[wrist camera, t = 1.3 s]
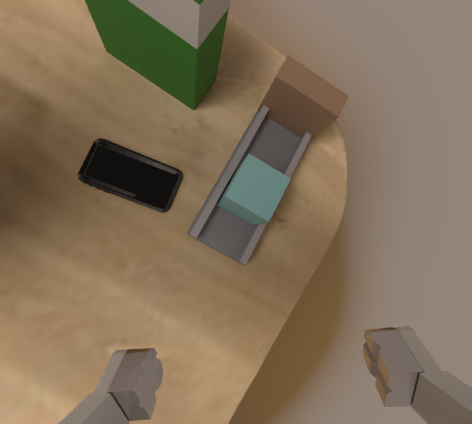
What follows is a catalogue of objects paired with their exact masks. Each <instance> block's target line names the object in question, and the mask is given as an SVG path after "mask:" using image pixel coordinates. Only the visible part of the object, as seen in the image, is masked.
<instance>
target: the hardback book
mask: <svg viewBox="0 0 472 424" xmlns="http://www.w3.org/2000/svg"><path fill="white" fill-rule="evenodd" d="M85 2H86V4H87V6H88V9H89V11H90V13H91V16H92V18H93V21H94V23H95V25H96V28H97V30H98V32H99V35H100V37H101V39H102V42H103V44H104V47H105V49H106V51H107V52H108V53H110V54H111V55H113V56H114V57H115V58H117V59H118V60H120V61H121V62H123V63H124V64H126V65H127V66H129V67H130V68H132V69H133V70H135V71H136V72H138V73H139V74H141V75H142V76H144V77H145V78H147V79H148V80H149V81H151V82H152V83H154V84H155V85H157V86H158V87H160V88H161V89H163V90H164V91H166V92H167V93H169V94H170V95H172V96H173V97H175V98H176V99H178V100H179V101H181V102H182V103H183V104H185V105H186V106H188V107H189V108H191V109H192V110H194V109H195V108H196V107H197V105H198V104H199V103H200V101H201V100H202V98H203V97H204V96H205V94H206V93H207V91H208V90H209V89H210V87H211V86H212V84H213V83H214V82H215V80H216V75H217V69H218V64H219V58H220V53H221V47H222V42H223V36H224V31H225V25H226V20H227V14H228V9H229V2H230V0H85Z"/></svg>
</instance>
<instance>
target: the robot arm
mask: <svg viewBox="0 0 472 424" xmlns="http://www.w3.org/2000/svg"><path fill="white" fill-rule="evenodd" d="M364 338H365V340H366V343H365V344H364V345H363V354H364V359H365V362H366V365H367V367H368V370H369V372H370V373H371V374H372V375H373V376H374V377H376V388H377V390H378V393H379V395H380V397H381V400H382V402H383V404H384V406H385V407H386V406H389V407H390V406H412V409H414V410H415V411H416V412H417V413H418V414H419V415H420V416H421V417H422V418H423V419H424V420H425V421H426V422H427V423H428V424H472V388H471V387H470V386H469V385H467V384H466V383H464V382H462V381H461V380H460V379H458V378H457V377H455V376H454V375H452V374H451V373H449V372H448V371H442V370H441V369H440V367H439V366H438V364H437V363H436V362H435V360H434V359H433V357H432V356H431V354H430V353H429V351H428V350H427V349H426V347H425V346H424V344H423V343H422V341H421V340H420V339H419V337H418V336H417V334H416V333H415V332H414V330H413V329H412V328H411V327H409V326H405V327H395V328H393V327H390V328H380V329H370V330H365V332H364ZM156 354H157V353H156V351H155V349H154V348H145V349H127V350H116V351H115V353H114V354H113V355H112V357H111V359H110V361H109V363H108V365H107V367H106V369H105V371H104V373H103V375H102V377H101V379H100V381H99V383H98V385H97V387H96V389H95V391H94V393H93V394H89V395H88V396H87V397H86V398H85V399H84V400H83V401H82V402H81V403H80V404H79V405H78V406H77V407H76V408H75V409H73V410H72V411H71V412H70V413H69V414H68V415H67V416H66V417H65V418H64V419H63V420H62V421H61V422H60V423H59V424H128V423H129V421H135V420H147V419H151V416H152V413H153V409H154V406H155V402H156V397H155V394H154V393H155V392H156V391H157V389H158V388H159V387H160V385H161V381H162V373H163V369H162V364H161V361H160V360H159V359H157V358H156Z"/></svg>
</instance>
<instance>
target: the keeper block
mask: <svg viewBox="0 0 472 424" xmlns="http://www.w3.org/2000/svg"><path fill="white" fill-rule="evenodd" d="M290 180H291V178H289V177H287V176H286V175H284V174H282V173H281V172H279V171H277V170H276V169H274V168H272V167H271V166H269V165H267V164H266V163H264V162H262V161H261V160H259V159H257V158H256V157H254V156H252V155H251V154H248V155H247V156H246V158H245V159H244V161H243V162H242V163H241V165H240V166H239V168H238V169H237V171H236V172H235V174H234V176H233V178H232V179H231V181H230V183H229V185H228V187H227V188H226V190H225V192H224V194H223V195H222V197H221V199H220V201H219V203H218V204H217V206H219V207H221V208H222V209H224V210H226V211H228V212H229V213H231V214H233V215H235V216H236V217H238V218H240V219H242V220H244V221H245V222H247V223H249V224H251V225H252V226H253V225H257V224H262V223H266V222H269V221H270V219H271V217H272V215H273V213H274V211H275V209H276V207H277V205H278V204H279V202H280V200H281V198H282V196H283V194H284V192H285V190H286V188H287V186H288V184H289V182H290Z"/></svg>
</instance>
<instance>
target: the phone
mask: <svg viewBox="0 0 472 424" xmlns="http://www.w3.org/2000/svg"><path fill="white" fill-rule="evenodd" d="M78 178H79V180H80V181H82V182H84V183H86V184H88V185H90V186H92V187H93V186H94V187H96V188H97V189H100V190H104V191H105V192H108V193H112V194H115V195H117V196H120V197H122V198H125V199H128V200H130V201H133V202H135V203H138V204H141V205H143V206H146V207H149V208H151V209H154V210H156V211H159V212H166V211H168V210H169V208H170V206H171V203H172V201H173V198H174V196H175V194H176V191H177V189H178V187H179V184H180V182H181V179H182V173H181V171H180V170H178V169H176V168H173V167H171V166H168V165H166V164H164V163H161V162H159V161H156V160H154V159H151V158H149V157H146V156H144V155H142V154H139V153H137V152H134V151H132V150H129V149H127V148H125V147H122V146H120V145H117V144H115V143H112V142H110V141H107V140H105V139H102V138H99V139H96V140H95V141H94V143H93V145H92V147H91V149H90V151H89V153H88V155H87V157H86V159H85V161H84V163H83V165H82V167H81V169H80V171H79V173H78Z"/></svg>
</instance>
